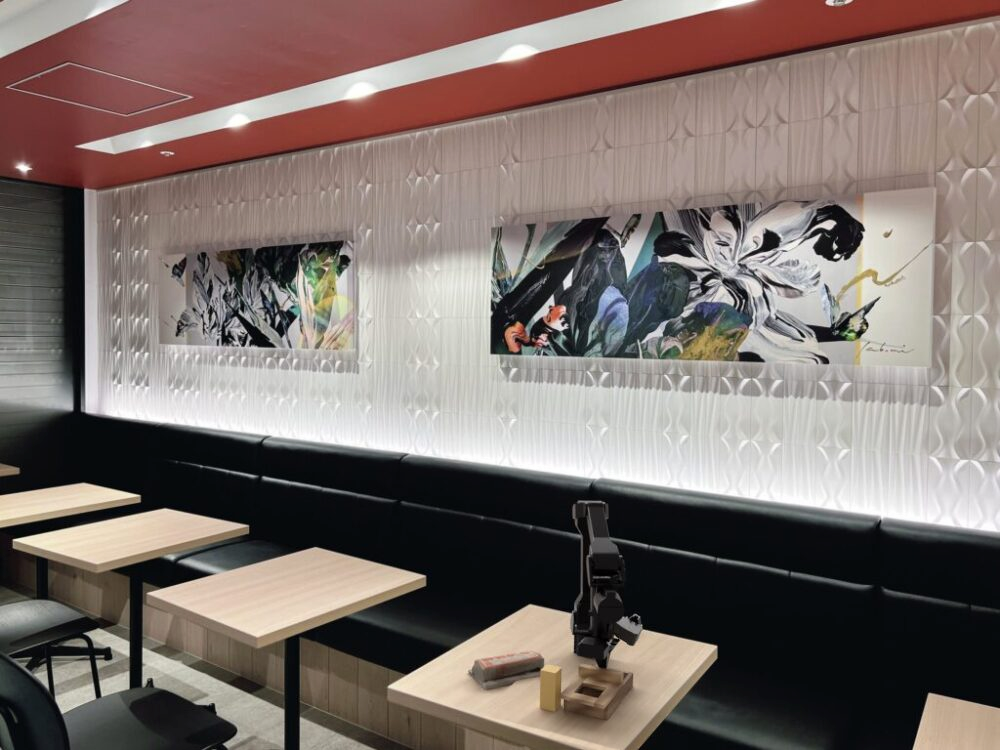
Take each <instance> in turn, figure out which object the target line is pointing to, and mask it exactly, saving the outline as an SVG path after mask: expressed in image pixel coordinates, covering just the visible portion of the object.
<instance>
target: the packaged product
mask: <svg viewBox="0 0 1000 750" xmlns="http://www.w3.org/2000/svg"><path fill="white" fill-rule="evenodd" d="M544 666H545V658H544V657H543V656H542V654H541V653H540V652H537V651H533V650H526V651H520V652H514V653H508V654H502V655H501V654H500V655H496V656H494V655H493V656H489V657H482V658H478V659H475V660H474V664H473V665H472V667H471V668H470V669H468V674H469V675H470V676H471V677H472V678H473V679H474V680H475V681H476V682H477V683H478V684H479V685H480V686H481V687H482V688H483V689H484V690H490V689H495V688H499V687H501V688H502V687H506V686H507V687H508V686H510V685H513V684H514V683H516V682H517V681H519V680H525V679H530V678H535V677H539V676H540V673H541V669H542V668H543V667H544Z"/></svg>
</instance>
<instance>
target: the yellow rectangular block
mask: <svg viewBox="0 0 1000 750" xmlns="http://www.w3.org/2000/svg"><path fill="white" fill-rule="evenodd" d="M562 670H563V668H562V666H557V665H553V664H548V663H547V664H544V667H543V668H542V669H541V673H540V677H539V679H540V680H539V681H540V682H539V683H540V685H539V689H540V690H539V692H540V693H539V709H543V710H546V711H551V712H556V711H557V710H558V709H559V708H560V707H561V705H562V699H560V694H561V693H562Z"/></svg>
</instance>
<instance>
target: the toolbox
mask: <svg viewBox="0 0 1000 750" xmlns="http://www.w3.org/2000/svg"><path fill="white" fill-rule="evenodd" d="M591 666H596V667H598V665H597V664H594V663H592V664H591ZM607 669H610V670H614V671H619V672H624V673H623V681H624V684H623V686H622V687H621V688H620V690H619V691H618V692H617V693H616V695H615V696H614V697H613V698H612V700H611V701H610V702H609V704H608V705H607V706H606V707H605V709H602V708H598V707H594V706H589V705H585V704H581V703H577V702H573V701H568V700H564V699H563V704H562V706H563V710H564V711H567V712H568V711H569V712H572V713H576V714H579V715H585V716H588V717H593V718H596V719H597V718H598V719H600V720H604V721H608V720H609V719H610V718H611V717H612V716H613V714H614V712H615V711H616V709H617V708H619V705H620V704H621V703H622V701H623V700H624V699H625V698H626V697H627V695H628V694H629V692H630V691H631V690H632V688H633V686H634V672H633V671H632V672H631V671H627V670H621V669H617V668H613V667H612V668H611V667H608V666H607ZM577 693H578V694H583V695H587V696H591V697H596V698H598V697H599V696H600V695H601V694H602V693H603V690H598V689H594V688H590V687H585V686H582V687H581V688H580V690H579V691H578V692H577Z"/></svg>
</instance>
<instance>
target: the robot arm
mask: <svg viewBox="0 0 1000 750" xmlns="http://www.w3.org/2000/svg"><path fill="white" fill-rule="evenodd" d="M572 519H573V520H574V524H575V527H576V528H577V530H578V532H579V534H580V593H579V594H578V596H577V597H576V599H575V601H574V607H573V608H574V609H573V610H572V611H571V615H570V620H569V621H570V622H569V624H570V625H569V627H570V628H569V629H570V632H571V634H572V635H573V654H576V655H577V656H578V657H582V658H588V659H592V660H593V659H594V660H595V662H596V665H598V667H600V668H605V669H607V667H608V666H609V661H610V657H611V653H612V651H614V649H615V648H616V646H617V645H618V644H619V643H620V642H621V641H623V642H624V643H626V645H628V646H630V647H634V646H635V645H636V643H637V642H638V641H639V638H640V635H641V633H642V632H643V624H642V620H641V616H640V615H638V614H636V613H634V614H633V615H631V616H630V617H628V616H625V606H624V604H623V601H622V599H621V597H620V595H619V593H618V588H625V587H626V586H625V582H626V581H627V571H626V565H625V564H626V563H625V560H624V557H623V556H622V554H621V555H620V552H619V548H618V546H617V545H616V544H615V543H614V542H613V541H611V538H610V532H609V528H608V527H609V526H608V523H607V520H608V519H609V504H608V503H606V502H605V501H603V500H578V501H577V502H576V503H574V504H573V505H572ZM618 577H619V578H618Z"/></svg>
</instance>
